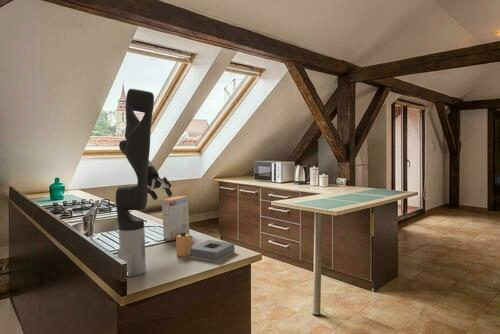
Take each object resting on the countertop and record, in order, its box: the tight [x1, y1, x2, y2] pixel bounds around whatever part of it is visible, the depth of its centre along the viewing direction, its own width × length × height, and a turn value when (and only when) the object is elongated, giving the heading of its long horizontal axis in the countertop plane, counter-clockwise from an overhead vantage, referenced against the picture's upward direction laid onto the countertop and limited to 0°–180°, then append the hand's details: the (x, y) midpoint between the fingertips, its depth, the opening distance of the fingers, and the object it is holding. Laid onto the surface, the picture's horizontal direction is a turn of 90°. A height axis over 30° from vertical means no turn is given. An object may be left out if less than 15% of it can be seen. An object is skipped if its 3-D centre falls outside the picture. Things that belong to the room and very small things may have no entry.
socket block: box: [189, 239, 235, 263], centre depth 148 cm, size 14×14×4 cm
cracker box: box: [161, 195, 190, 241], centre depth 178 cm, size 14×6×21 cm, turn 149°
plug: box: [175, 232, 192, 257], centre depth 149 cm, size 4×4×10 cm
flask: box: [180, 223, 194, 245], centre depth 166 cm, size 7×7×10 cm
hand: (163, 197), depth 155 cm, fingers open, 8 cm apart
